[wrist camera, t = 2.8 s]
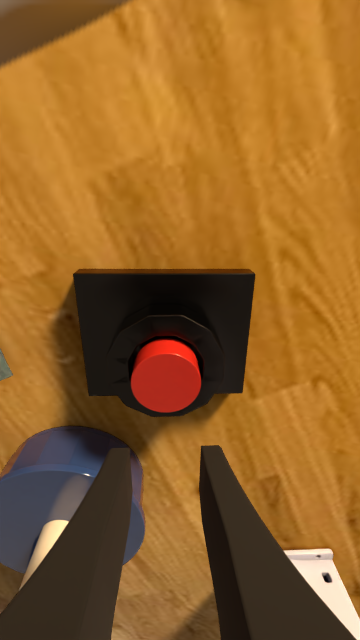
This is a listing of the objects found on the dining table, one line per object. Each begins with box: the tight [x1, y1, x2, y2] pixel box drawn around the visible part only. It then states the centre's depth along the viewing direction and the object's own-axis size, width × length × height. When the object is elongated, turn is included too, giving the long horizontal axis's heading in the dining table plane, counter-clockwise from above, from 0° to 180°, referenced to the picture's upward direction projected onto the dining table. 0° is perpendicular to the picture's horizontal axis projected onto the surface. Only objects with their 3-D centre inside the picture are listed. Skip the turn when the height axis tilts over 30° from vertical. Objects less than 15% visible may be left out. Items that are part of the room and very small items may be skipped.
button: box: [131, 338, 201, 413], centre depth 16 cm, size 4×4×2 cm
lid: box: [0, 464, 145, 590], centre depth 18 cm, size 11×11×4 cm
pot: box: [0, 426, 143, 507], centre depth 21 cm, size 10×10×4 cm
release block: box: [73, 269, 255, 417], centre depth 17 cm, size 10×8×3 cm
